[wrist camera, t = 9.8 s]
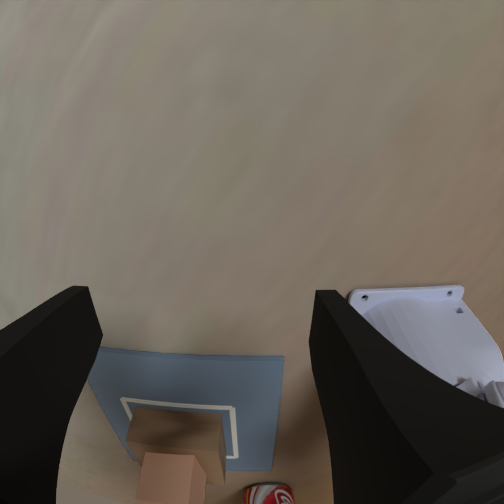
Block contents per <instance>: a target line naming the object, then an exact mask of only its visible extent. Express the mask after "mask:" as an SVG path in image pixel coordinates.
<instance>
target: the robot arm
mask: <svg viewBox="0 0 504 504" xmlns="http://www.w3.org/2000/svg"><path fill="white" fill-rule="evenodd" d="M448 292H449V293H448ZM463 294H464V288H463V287H462V286H461V285H449V286H430V287H409V288H383V289H357V290H354V291H352V292H351V293H350V295H349V300H348V302H347V301H346V299H345V298H344V297H343V296H342V295H340V294H339V293H338V292H337V291H336V290H316V293H315V300H314V308H313V316H312V323H311V330H310V337H309V348H310V357H311V365H312V371H313V375H314V379H315V384H316V388H317V392H318V396H319V400H320V404H321V408H322V412H323V416H324V420H325V425H326V429H327V434H328V440H329V448H330V457H331V467H332V479H333V493H334V504H504V361H503V357H502V354H501V351H500V349H499V347H498V345H497V344H496V342H495V341H494V340H493V338H492V337H491V336H490V334H489V333H488V332H487V330H486V329H485V328H484V327H483V325H482V324H481V323H480V321H479V320H478V319H477V318H476V316H475V315H474V314H473V313H472V311H471V310H470V309H469V308H468V306H467V305H466V304H465V303H464V302H463V300H462V296H463ZM364 295H367V296H366V297H365V298H362V296H364ZM102 337H103V333H102V330H101V327H100V324H99V321H98V318H97V315H96V312H95V309H94V305H93V302H92V299H91V295H90V292H89V288H88V286H72V287H69V288H67V289H65V290H63V291H62V292H60V293H58V294H57V295H55V296H53V297H52V298H50V299H49V300H47V301H45V302H44V303H42V304H41V305H39V306H38V307H36V308H35V309H33V310H31V311H30V312H28V313H27V314H25V315H24V316H22V317H21V318H19V319H17V320H16V321H14V322H12V323H11V324H9V325H8V326H6V327H4V328H3V329H1V330H0V504H56V488H57V478H58V470H59V463H60V458H61V453H62V448H63V443H64V439H65V435H66V431H67V427H68V424H69V420H70V418H71V415H72V412H73V409H74V407H75V405H76V403H77V400H78V398H79V396H80V393H81V391H82V389H83V387H84V384H85V382H86V380H87V378H88V376H89V373H90V371H91V369H92V367H93V364H94V362H95V360H96V357H97V354H98V350H99V347H100V344H101V340H102Z"/></svg>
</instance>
